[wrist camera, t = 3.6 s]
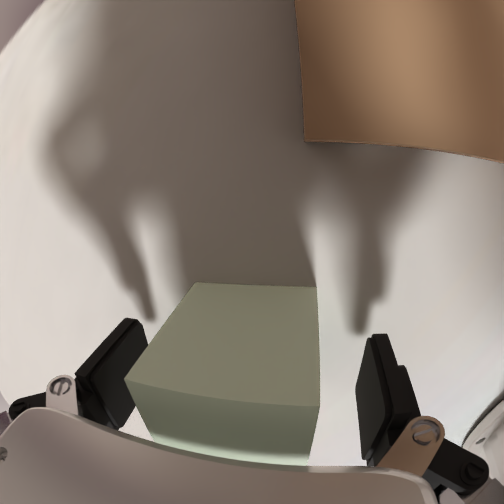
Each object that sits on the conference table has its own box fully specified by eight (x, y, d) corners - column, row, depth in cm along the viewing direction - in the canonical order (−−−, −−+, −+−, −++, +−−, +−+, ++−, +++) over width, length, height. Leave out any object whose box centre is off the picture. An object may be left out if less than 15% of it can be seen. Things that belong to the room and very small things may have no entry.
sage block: (316, 286, 11) (319, 406, 6) (308, 376, 13) (301, 484, 7) (195, 281, 12) (124, 378, 7) (209, 368, 14) (167, 464, 8)
